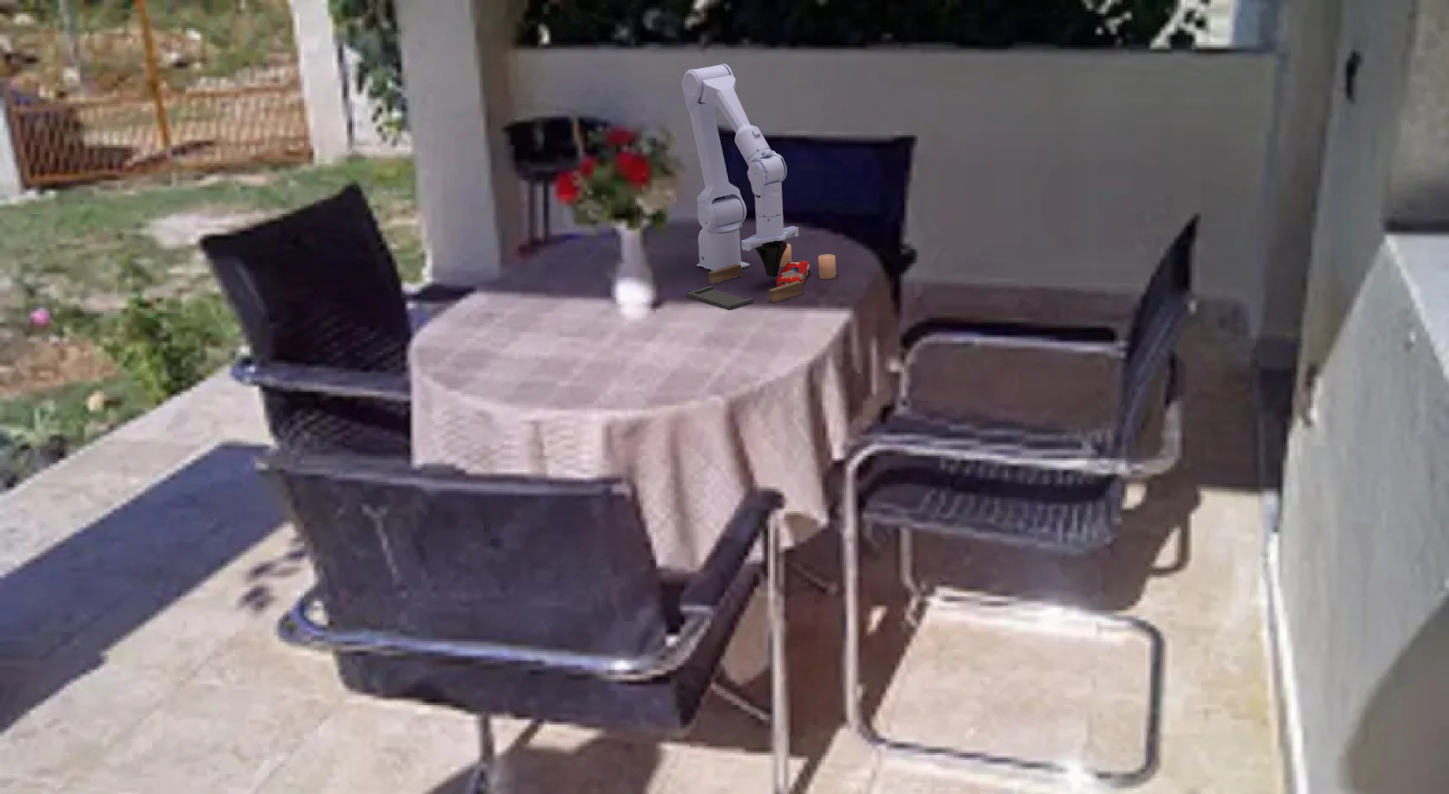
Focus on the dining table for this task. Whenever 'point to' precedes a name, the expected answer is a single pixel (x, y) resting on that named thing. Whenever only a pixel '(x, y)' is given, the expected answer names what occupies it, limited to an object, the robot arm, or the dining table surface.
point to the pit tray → (718, 298)
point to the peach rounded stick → (786, 256)
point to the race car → (794, 272)
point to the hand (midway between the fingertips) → (772, 275)
